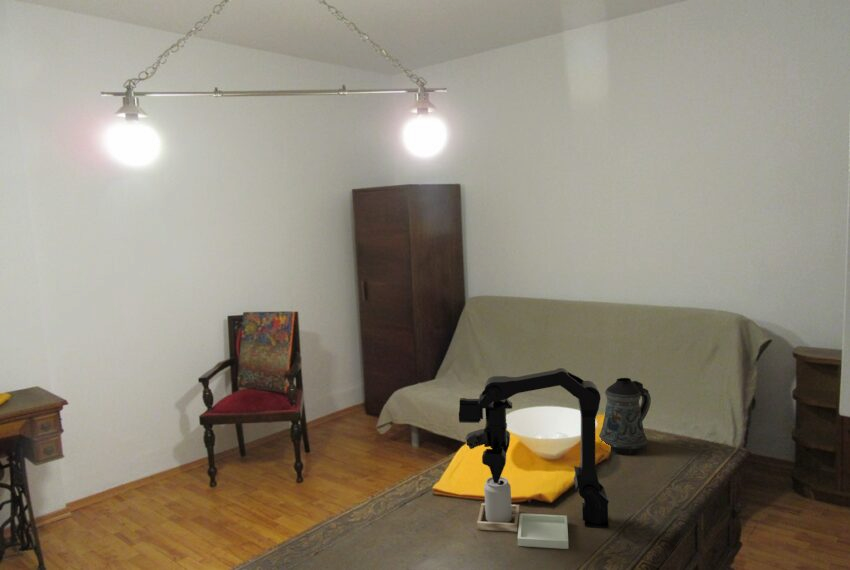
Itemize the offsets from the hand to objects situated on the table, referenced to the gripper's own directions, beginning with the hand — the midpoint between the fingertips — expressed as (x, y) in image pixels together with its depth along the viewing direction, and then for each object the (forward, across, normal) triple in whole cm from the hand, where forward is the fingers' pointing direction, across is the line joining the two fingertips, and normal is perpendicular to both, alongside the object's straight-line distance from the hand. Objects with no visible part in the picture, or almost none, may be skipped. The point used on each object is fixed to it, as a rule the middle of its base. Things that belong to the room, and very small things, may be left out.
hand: (497, 475), depth 168 cm
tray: (+13, +6, +13) cm, 19 cm away
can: (+14, 0, 0) cm, 14 cm away
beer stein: (+13, -57, +40) cm, 71 cm away
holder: (+13, 0, 0) cm, 13 cm away
